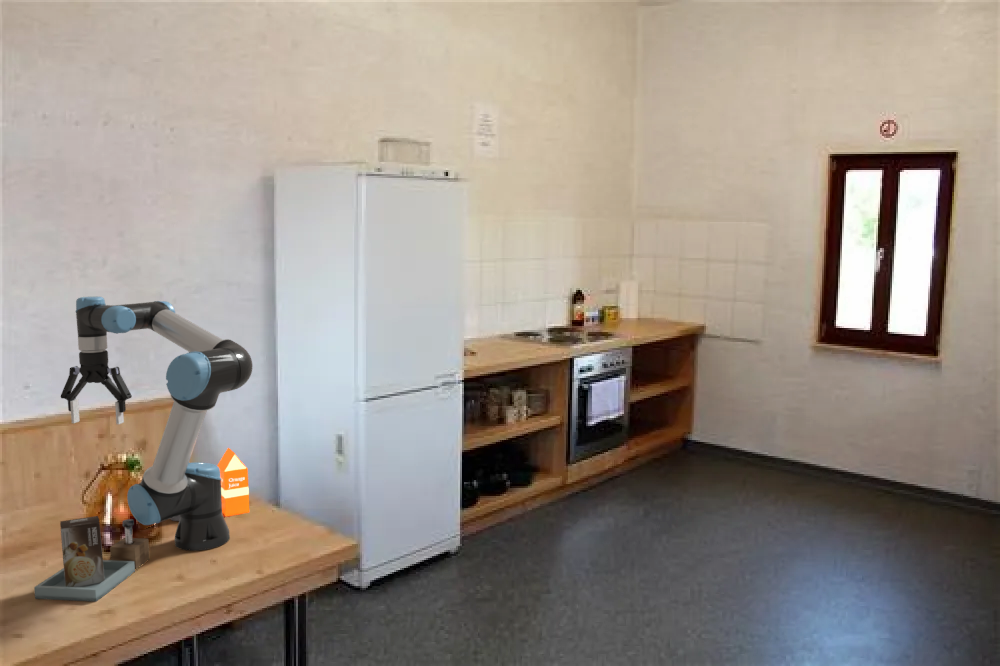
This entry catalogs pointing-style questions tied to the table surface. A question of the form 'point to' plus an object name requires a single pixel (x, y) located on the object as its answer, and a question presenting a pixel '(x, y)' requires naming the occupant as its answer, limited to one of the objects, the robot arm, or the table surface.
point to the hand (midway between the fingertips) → (97, 422)
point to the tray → (112, 575)
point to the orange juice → (233, 485)
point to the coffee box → (82, 552)
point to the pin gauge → (128, 531)
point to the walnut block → (131, 551)
